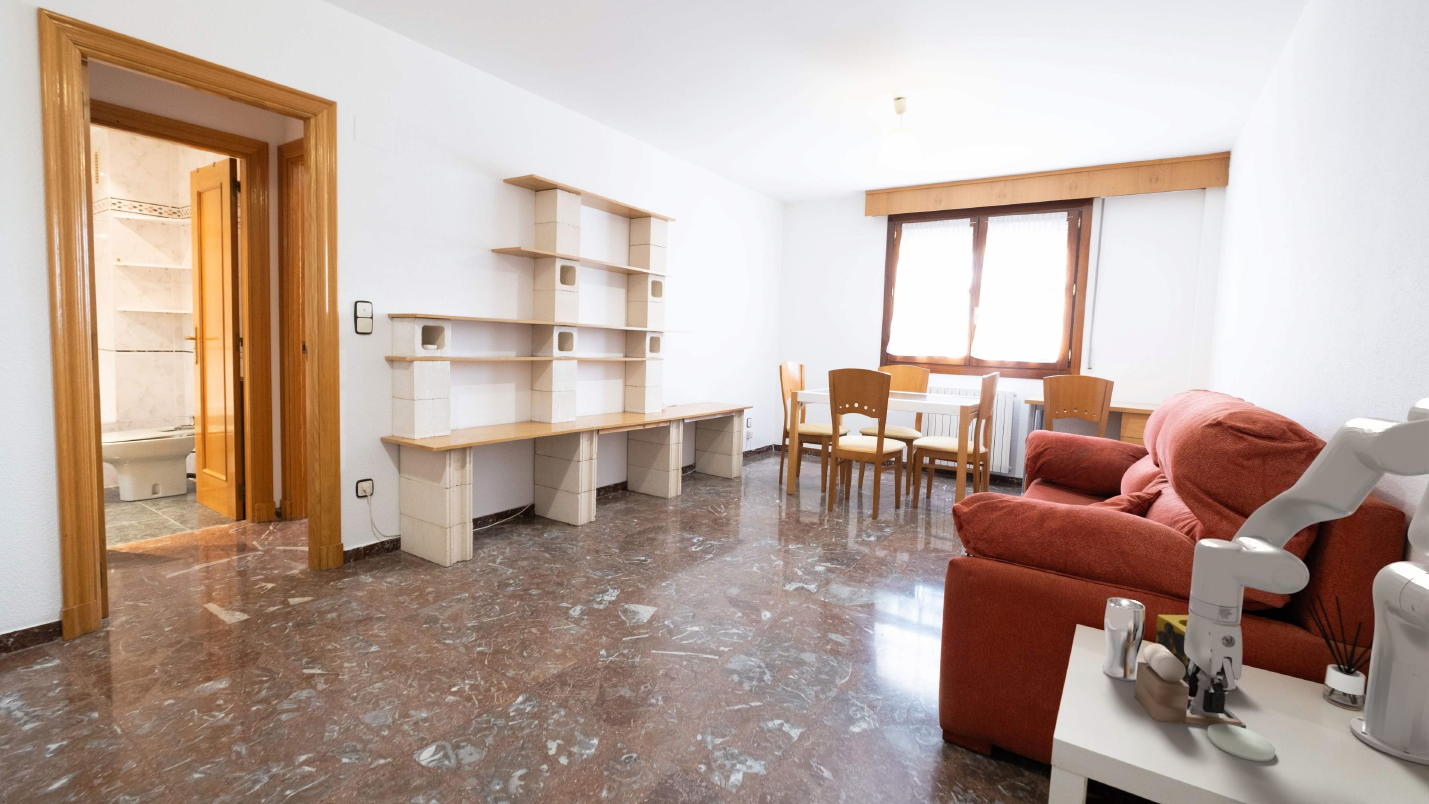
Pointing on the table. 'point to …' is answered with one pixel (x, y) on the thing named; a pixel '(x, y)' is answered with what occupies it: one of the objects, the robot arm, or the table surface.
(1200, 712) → the rook chess piece
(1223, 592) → the robot arm
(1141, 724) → the table surface
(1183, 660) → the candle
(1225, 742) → the pale green round disc
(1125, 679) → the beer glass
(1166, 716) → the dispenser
